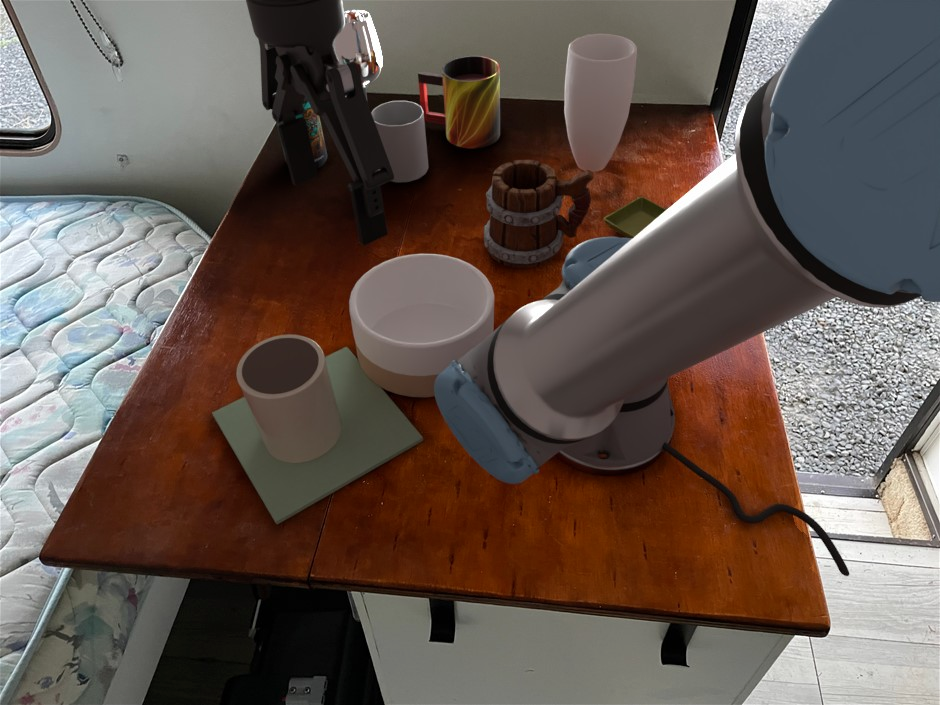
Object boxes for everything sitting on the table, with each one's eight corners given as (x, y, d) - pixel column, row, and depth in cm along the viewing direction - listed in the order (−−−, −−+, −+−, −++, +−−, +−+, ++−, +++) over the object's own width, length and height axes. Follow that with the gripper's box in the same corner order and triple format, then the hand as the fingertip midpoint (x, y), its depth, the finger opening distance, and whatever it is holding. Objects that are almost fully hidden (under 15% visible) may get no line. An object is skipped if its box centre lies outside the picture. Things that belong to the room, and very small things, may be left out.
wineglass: (399, 125, 130) (386, 12, 115) (373, 145, 125) (356, 29, 111) (366, 115, 133) (348, 4, 118) (339, 134, 128) (318, 20, 114)
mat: (423, 440, 80) (423, 437, 79) (276, 525, 73) (275, 522, 72) (347, 349, 90) (346, 346, 90) (212, 415, 83) (211, 412, 83)
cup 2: (626, 197, 111) (645, 62, 96) (559, 199, 112) (568, 64, 96) (617, 162, 118) (635, 30, 103) (555, 163, 119) (563, 32, 103)
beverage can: (332, 168, 120) (319, 101, 112) (291, 177, 119) (275, 110, 110) (322, 148, 125) (309, 82, 116) (283, 157, 123) (266, 91, 115)
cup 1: (421, 184, 116) (415, 128, 109) (372, 180, 117) (364, 124, 110) (433, 157, 122) (428, 102, 114) (387, 153, 123) (379, 99, 116)
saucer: (645, 256, 101) (647, 245, 99) (600, 229, 106) (602, 218, 104) (685, 232, 105) (687, 220, 103) (639, 206, 109) (641, 195, 108)
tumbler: (250, 423, 82) (321, 388, 85) (282, 477, 76) (356, 438, 80) (222, 357, 74) (302, 322, 77) (256, 412, 68) (339, 371, 72)
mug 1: (422, 124, 130) (416, 59, 121) (497, 119, 130) (496, 53, 121) (423, 151, 123) (417, 85, 114) (503, 146, 123) (502, 79, 115)
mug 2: (482, 217, 108) (498, 129, 97) (573, 236, 108) (600, 150, 97) (471, 266, 100) (487, 176, 89) (570, 286, 100) (598, 198, 89)
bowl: (517, 330, 92) (520, 280, 86) (447, 419, 81) (444, 368, 75) (407, 287, 98) (402, 237, 92) (328, 364, 87) (318, 314, 81)
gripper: (185, -45, 62) (249, 170, 77) (327, 41, 47) (372, 284, 63) (263, -64, 65) (310, 146, 80) (419, 11, 50) (440, 250, 66)
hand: (337, 207), depth 71 cm, fingers open, 13 cm apart
